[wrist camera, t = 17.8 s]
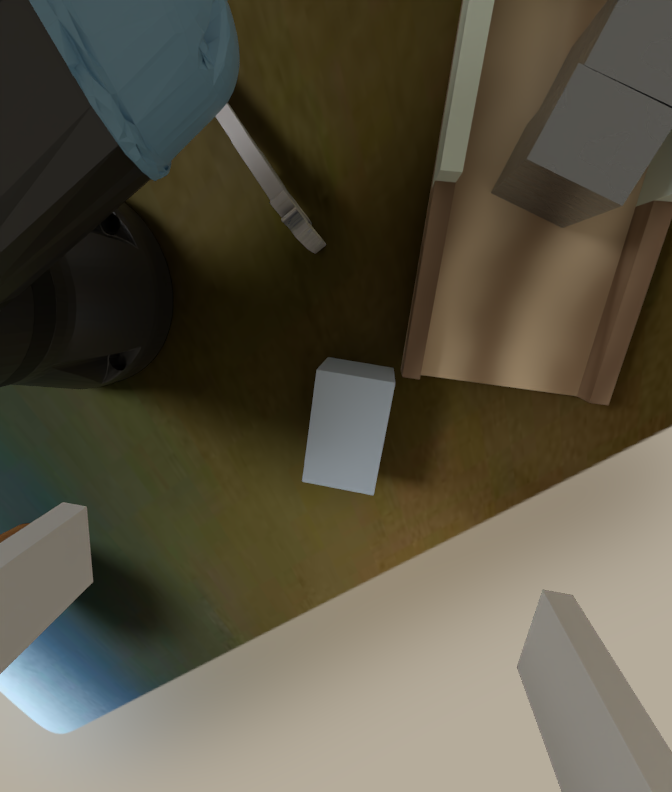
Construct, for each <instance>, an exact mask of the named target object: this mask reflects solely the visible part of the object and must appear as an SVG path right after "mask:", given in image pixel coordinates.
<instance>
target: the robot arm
mask: <svg viewBox="0 0 672 792" xmlns="http://www.w3.org/2000/svg"><path fill="white" fill-rule="evenodd" d="M238 72H239V45H238V37H237V33H236V28H235V24H234V20H233V17H232V13H231V10H230V7H229V5H228V2H227V0H0V387H2V386H6V385H10V384H12V385H27V386H41V387H55V388H70V389H88V388H96V387H101V386H105V385H108V384H111V383H114V382H117V381H120V380H123V379H126V378H129V377H131V376H133V375H135V374H136V373H138V372H140V371H141V370H142V369H144V368H145V367H146V366H147V365H148V364H149V363H150V362H151V361H152V360H153V359H154V358H155V356H156V355H157V354H158V352H159V351H160V349H161V348H162V346H163V344H164V342H165V339H166V337H167V334H168V331H169V328H170V324H171V319H172V311H173V291H172V283H171V278H170V274H169V269H168V266H167V263H166V260H165V258H164V255H163V253H162V250H161V248H160V246H159V244H158V242H157V241H156V239H155V237H154V235H153V234H152V232H151V231H150V229H149V228H148V227H147V225H146V224H145V223H144V221H143V220H142V219H141V218H140V217H139V216H138V215H137V213H136V212H135V211H134V210H133V209H131V208H130V207H129V206H128V205H127V204H126V203H125V201H126V200H128V199H129V198H130V197H131V196H132V195H133V194H134V193H136V192H137V191H138V190H139V189H140V188H141V187H142V186H144V185H145V184H146V183H147V182H148V181H149V180H150V179H152V180H154V181H156V180H157V179H161V178H163V177H164V176H166V175H167V174H168V173H169V171H170V167H171V160H172V159H173V158H174V157H175V156H176V155H177V154H178V153H179V152H180V151H181V150H182V149H183V148H184V147H185V146H186V145H187V144H188V143H189V142H190V141H191V140H192V139H193V138H194V137H195V136H196V135H197V134H198V133H199V132H200V131H201V130H202V129H203V128H204V127H205V126H206V125H207V124H208V123H209V122H210V121H211V120H212V119H213V118H214V117H215V116H216V115H217V114H218V113H219V112H220V111H221V110H222V109H223V108H224V106H225V105H226V104H227V102H228V101H229V99H230V97H231V95H232V93H233V91H234V88H235V85H236V82H237V77H238ZM92 583H93V573H92V561H91V550H90V539H89V527H88V516H87V507H86V506H81V505H75V504H70V503H64V502H63V503H61V504H60V505H58V506H56V507H55V508H53V509H52V510H50V511H49V512H47V513H46V514H44V515H43V516H41V517H40V518H38V519H36V520H35V521H33V522H32V523H30V524H29V525H27V526H26V527H24V528H23V529H21V530H19V531H18V532H16V533H15V534H13V535H12V536H10V537H9V538H7V539H6V540H4V541H3V542H1V543H0V674H1V673H2V672H3V671H4V670H5V669H6V668H7V667H8V666H9V665H10V664H11V663H12V662H13V661H14V660H15V659H16V658H17V657H18V656H19V655H20V654H21V653H22V652H23V651H24V650H25V649H26V648H27V647H28V646H29V645H30V644H31V643H32V642H33V641H34V640H35V639H36V638H37V637H38V636H39V635H40V634H41V633H42V632H43V631H44V630H45V629H46V628H47V627H48V626H49V625H50V624H51V623H52V622H53V621H54V620H55V619H56V618H57V617H58V616H59V615H60V614H61V613H62V612H63V611H64V610H65V609H66V608H67V607H68V606H69V605H70V604H71V603H72V602H73V601H74V600H75V599H76V598H77V597H78V596H79V595H80V594H81V593H82V592H83V591H84V590H85V589H86V588H87V587H89V586H90V585H91V584H92ZM517 669H518V671H519V674H520V677H521V680H522V683H523V685H524V688H525V691H526V694H527V697H528V699H529V702H530V705H531V708H532V710H533V713H534V716H535V719H536V722H537V724H538V727H539V730H540V733H541V735H542V738H543V741H544V744H545V747H546V749H547V752H548V755H549V758H550V761H551V763H552V766H553V769H554V772H555V775H556V777H557V780H558V783H559V786H560V788H561V791H562V792H672V752H671V750H670V749H669V747H668V745H667V744H666V742H665V741H664V739H663V738H662V736H661V734H660V733H659V731H658V730H657V728H656V726H655V725H654V723H653V722H652V720H651V718H650V717H649V715H648V714H647V712H646V711H645V709H644V707H643V706H642V704H641V703H640V701H639V700H638V698H637V696H636V695H635V693H634V692H633V690H632V689H631V687H630V685H629V684H628V682H627V681H626V679H625V677H624V676H623V674H622V672H621V671H620V669H619V668H618V666H617V665H616V663H615V661H614V660H613V658H612V657H611V655H610V653H609V652H608V650H607V649H606V647H605V645H604V644H603V642H602V641H601V639H600V638H599V636H598V635H597V633H596V631H595V630H594V628H593V626H592V625H591V623H590V622H589V620H588V619H587V617H586V615H585V614H584V612H583V611H582V609H581V608H580V606H579V604H578V603H577V601H576V599H575V598H574V596H573V595H570V594H564V593H558V592H553V591H547V590H542V593H541V596H540V599H539V602H538V606H537V608H536V611H535V614H534V617H533V620H532V623H531V626H530V629H529V632H528V635H527V638H526V641H525V644H524V647H523V650H522V653H521V656H520V659H519V663H518V665H517Z"/></svg>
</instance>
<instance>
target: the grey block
mask: <svg viewBox="0 0 672 792" xmlns="http://www.w3.org/2000/svg"><path fill="white" fill-rule="evenodd" d="M394 388H395V376H394V368H392V367H386V366H379V365H373V364H367V363H361V362H355V361H349V360H343V359H337V358H331V357H327V359H326V360H325V361H324V362H323V363H322V364H321V365H320V366H319V367H318V369H317V370H316V378H315V386H314V393H313V401H312V409H311V416H310V424H309V432H308V440H307V447H306V455H305V463H304V470H303V478H302V482H307V483H312V484H317V485H322V486H327V487H332V488H338V489H343V490H348V491H353V492H358V493H363V494H369V495H374V491H375V485H376V480H377V475H378V470H379V465H380V460H381V455H382V449H383V444H384V439H385V434H386V429H387V424H388V418H389V413H390V408H391V403H392V398H393V393H394Z"/></svg>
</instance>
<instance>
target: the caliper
mask: <svg viewBox="0 0 672 792" xmlns="http://www.w3.org/2000/svg"><path fill="white" fill-rule="evenodd" d="M215 117H216V118H217V120H218V121H219V123H220V124H221V126H222V127H223V128H224V130H225V131H226V133H227V134H228V136H229V137H230V139H231V140H232V141H231V142H232V143H233V145H234V146H235V148H236V149H237V151H238V152H239V154H240V155H241V157H242V158H243V160H244V161H245V163H246V164H247V166H248V167H249V169H250V170H251V172H252V173H253V175H254V176H255V178H256V179H257V181H258V182H259V184H260V185H261V187H262V188H263V190H264V191H265V193H266V194H267V196H268V197H269V199H270V200H271V201H270V202H269V203H270V204H271V205H272V206H273V208H274V209H275V210H276V211H277V213H278V214H279V215H280V216H281V217H282V219H281V220H282V222H283V223H284V224H285V225H286V226H287V227H288V228H289V229H290V230H291V231H292V233H293V234H294V236H295V237H296V238H297V239H298V240H299V241H300V242H301V243H302V244H303V245H304V246H305V247H306V248H307V249H308V250H310V251H311V252H313V253H315V254H316V253H317V252H318V251H320V250H321V249H322V248H323V247H325V246H326V243H325V241H324V240H323V239H322V238H321V236H320V235H319V234H318V233H317V232H316V231H315V229H314V228H313V227H312V226H311V225H312V222H311V221H310V219H309V218H308V217H307V215H306V214H305V213H304V211H303V210H302V209H301V208H300V206H299V205H298V204H297V202H296V201H295V200H294V199H293V197H292V196H291V195H290V193H289V192H288V191H287V189H286V188H285V186H284V185H283V183H282V181H281V180H280V178H279V177H278V175H277V173H276V172H275V171H274V169H273V168H272V166H271V165H270V163H269V162H268V160H267V159H266V157H265V156H264V154H263V153H262V151H261V150H260V149H259V148H258V146H257V145H256V143H255V142H254V141H253V139H252V138H251V136H250V135H249V133H248V132H247V130H246V129H245V127H244V126H243V124H242V123H241V121H240V120H239V118H238V117H237V115H236V114H235V112H234V111H233V109H232V108H231V106H230V105H229V103H228V102H227V104H226V105H225V106H224V108H223V109H222V110H221V111H220V112H219V113H218V114H217V115H216V116H215Z"/></svg>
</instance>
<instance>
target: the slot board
mask: <svg viewBox="0 0 672 792" xmlns="http://www.w3.org/2000/svg"><path fill="white" fill-rule="evenodd" d="M607 1H608V0H495V1H494V6H493V11H492V17H491V22H490V27H489V33H488V38H487V43H486V49H485V54H484V60H483V65H482V70H481V76H480V81H479V86H478V92H477V97H476V103H475V108H474V113H473V119H472V124H471V129H470V135H469V140H468V146H467V151H466V156H465V162H464V167H463V172H462V174H461V175H460V177H459V178H458V180H457V181H456V182H446V181H435V182H434V184H433V178H434V172H435V166H436V160H437V154H438V148H439V142H440V136H441V130H442V124H443V118H444V112H445V106H446V100H447V94H448V88H449V82H450V76H451V71H452V65H453V59H454V53H455V47H456V41H457V35H458V29H459V23H460V17H461V11H462V5H463V0H462V4H461V10H460V16H459V22H458V28H457V34H456V40H455V46H454V52H453V58H452V64H451V70H450V76H449V82H448V88H447V94H446V100H445V106H444V112H443V118H442V124H441V130H440V136H439V142H438V148H437V154H436V160H435V166H434V172H433V178H432V184H433V187H432V184H431V190H430V196H429V202H428V208H427V214H426V220H425V226H424V232H423V238H422V244H421V250H420V256H419V262H418V268H417V274H416V280H415V286H414V292H413V298H412V304H411V310H410V316H409V322H408V328H407V334H406V340H405V346H404V352H403V358H402V364H401V374H402V377H406V378H413V379H420V376H421V375H425V376H432V377H439V378H447V379H454V380H461V381H469V382H476V383H483V384H491V385H498V386H505V387H513V388H520V389H527V390H535V391H542V392H549V393H557V394H564V395H571V396H577V397H579V398H581V399H583V400H585V401H587V402H589V403H594V404H602V405H609V402H610V399H611V397H612V394H613V391H614V388H615V385H616V382H617V379H618V376H619V373H620V370H621V367H622V364H623V361H624V358H625V355H626V352H627V349H628V346H629V343H630V340H631V337H632V334H633V331H634V328H635V326H636V323H637V320H638V317H639V314H640V311H641V308H642V305H643V302H644V299H645V296H646V293H647V290H648V287H649V284H650V281H651V278H652V275H653V272H654V269H655V266H656V263H657V260H658V257H659V255H660V252H661V249H662V246H663V243H664V240H665V237H666V234H667V231H668V228H669V225H670V222H671V219H672V202H668V201H656V200H654V201H651V202H648V203H645V204H642V205H639V206H637V207H636V204H637V201H638V198H639V194H640V191H641V188H642V185H643V181H644V178H645V175H646V172H647V169H648V167H647V168H646V170H645V171H644V173H643V175H642V176H641V178H640V179H639V181H638V182H637V184H636V185H635V187H634V189H633V190H632V192H631V193H630V195H629V196H628V198H627V200H626V201H625V203H624V204H623V206H621V207H618V208H616V209H613V210H610V211H607V212H605V213H602V214H599V215H597V216H594V217H591V218H588V219H586V220H583V221H580V222H578V223H575V224H572V225H570V226H567V227H564V228H561V227H559V226H557V225H555V224H553V223H551V222H549V221H547V220H545V219H543V218H541V217H539V216H537V215H535V214H533V213H531V212H529V211H526V210H524V209H522V208H520V207H518V206H516V205H514V204H512V203H510V202H508V201H506V200H504V199H502V198H500V197H498V196H496V195H494V194H492V193H491V191H492V190H493V188H494V186H495V184H496V182H497V180H498V178H499V176H500V174H501V173H502V171H503V169H504V167H505V165H506V163H507V161H508V159H509V157H510V156H511V154H512V152H513V150H514V148H515V146H516V144H517V142H518V140H519V139H520V137H521V135H522V133H523V131H524V129H525V127H526V125H527V124H528V122H529V121H530V120H531V119H532V118H533V117H534V115H535V114H536V113H537V112H538V111H539V109H540V107H541V105H542V103H543V101H544V99H545V97H546V96H547V94H548V92H549V90H550V88H551V86H552V84H553V82H554V80H555V78H556V76H557V74H558V72H559V70H560V69H561V67H562V65H563V63H564V61H565V59H566V57H567V55H568V53H569V51H570V49H571V48H572V46H573V45H574V44H575V42H576V41H577V40H578V39H579V37H580V36H581V35H582V33H583V32H584V31H585V29H586V28H587V27H588V25H589V24H590V23H591V21H592V20H593V19H594V18H595V16H596V15H597V14H598V12H599V11H600V10H601V8H602V7H603V6H604V4H605V3H606V2H607Z"/></svg>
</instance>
